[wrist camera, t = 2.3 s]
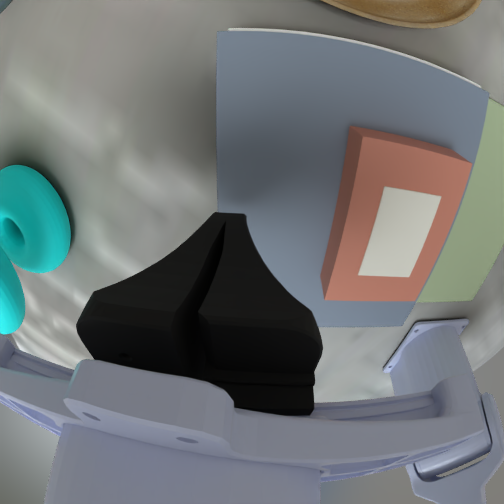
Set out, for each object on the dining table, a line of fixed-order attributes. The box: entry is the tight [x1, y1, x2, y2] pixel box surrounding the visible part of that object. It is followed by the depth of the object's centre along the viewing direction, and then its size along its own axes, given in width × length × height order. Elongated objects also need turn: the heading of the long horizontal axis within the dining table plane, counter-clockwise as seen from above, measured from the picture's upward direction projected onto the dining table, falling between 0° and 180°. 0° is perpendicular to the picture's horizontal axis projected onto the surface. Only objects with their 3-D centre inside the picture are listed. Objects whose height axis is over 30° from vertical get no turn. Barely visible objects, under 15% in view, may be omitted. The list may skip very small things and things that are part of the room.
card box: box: [320, 126, 472, 301], centre depth 13 cm, size 9×6×2 cm, turn 178°
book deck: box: [216, 28, 489, 327], centre depth 15 cm, size 18×14×3 cm
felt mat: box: [416, 98, 504, 302], centre depth 16 cm, size 18×9×1 cm, turn 178°
